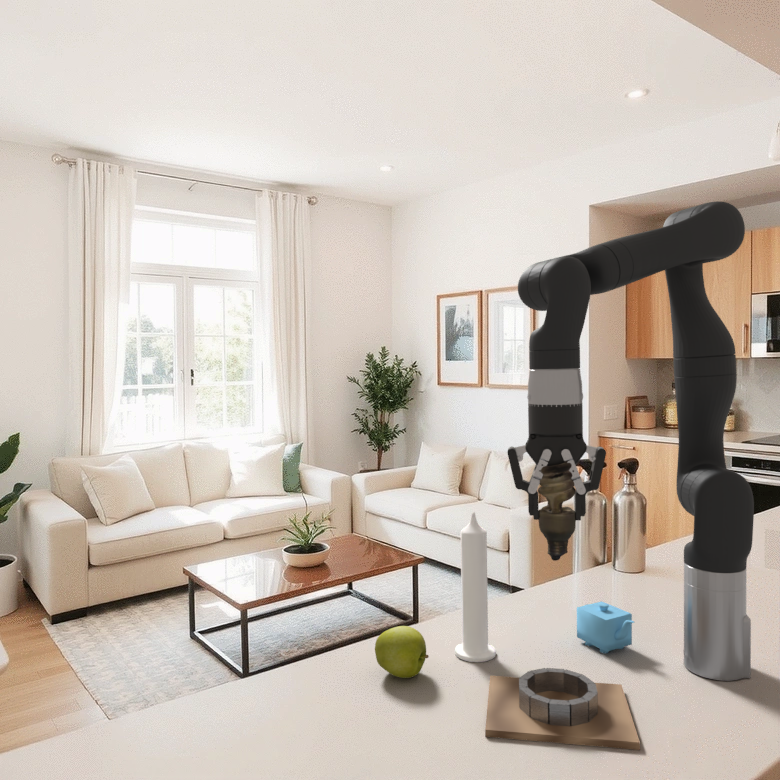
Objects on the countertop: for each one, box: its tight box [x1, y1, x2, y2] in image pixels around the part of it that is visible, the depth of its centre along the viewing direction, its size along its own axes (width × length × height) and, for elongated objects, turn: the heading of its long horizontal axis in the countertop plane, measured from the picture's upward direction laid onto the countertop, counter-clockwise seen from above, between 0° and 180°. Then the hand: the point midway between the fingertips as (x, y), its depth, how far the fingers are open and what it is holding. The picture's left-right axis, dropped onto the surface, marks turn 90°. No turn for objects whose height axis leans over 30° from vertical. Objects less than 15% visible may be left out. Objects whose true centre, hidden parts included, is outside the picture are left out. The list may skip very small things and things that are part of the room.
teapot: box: [576, 600, 636, 654], centre depth 119 cm, size 12×6×8 cm, turn 28°
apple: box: [374, 625, 430, 679], centre depth 110 cm, size 8×9×8 cm
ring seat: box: [519, 667, 598, 727], centre depth 97 cm, size 11×11×3 cm
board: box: [484, 675, 641, 751], centre depth 98 cm, size 20×16×1 cm
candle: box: [454, 511, 496, 663], centre depth 117 cm, size 7×7×25 cm
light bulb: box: [537, 463, 577, 562], centre depth 96 cm, size 6×6×15 cm
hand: (556, 518), depth 96 cm, fingers closed on light bulb, 5 cm apart
